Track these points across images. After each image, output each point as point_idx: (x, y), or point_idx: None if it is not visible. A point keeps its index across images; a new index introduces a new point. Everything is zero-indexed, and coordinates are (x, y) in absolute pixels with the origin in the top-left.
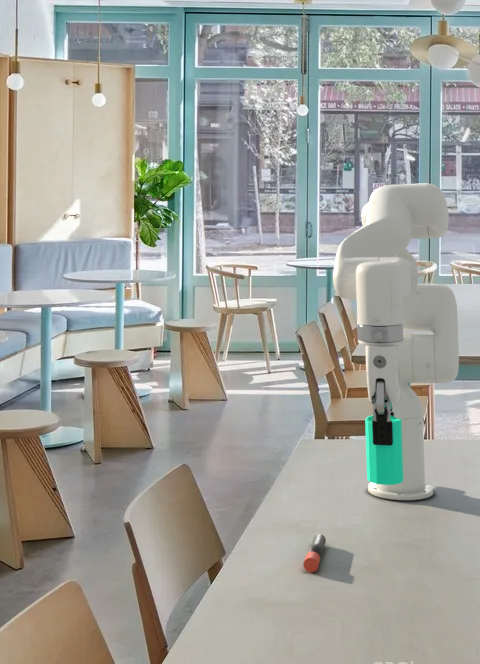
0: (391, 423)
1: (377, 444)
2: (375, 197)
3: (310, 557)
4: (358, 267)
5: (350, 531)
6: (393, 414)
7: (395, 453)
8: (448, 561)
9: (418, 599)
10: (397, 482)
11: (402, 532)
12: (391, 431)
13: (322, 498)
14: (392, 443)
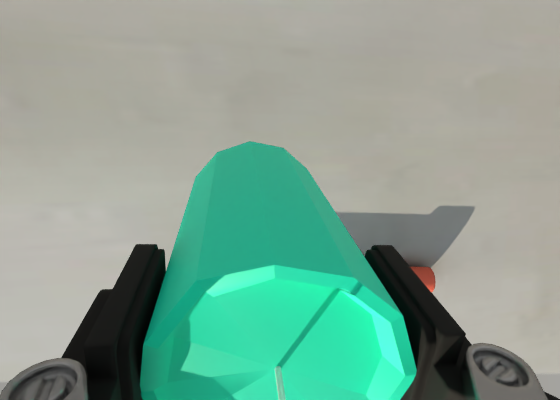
0: (457, 327)
1: None
2: None
3: (432, 287)
4: None
5: (175, 225)
6: (117, 334)
7: (330, 208)
8: (347, 12)
9: (555, 94)
10: (299, 163)
11: (151, 113)
12: (422, 290)
13: None
14: (393, 247)
